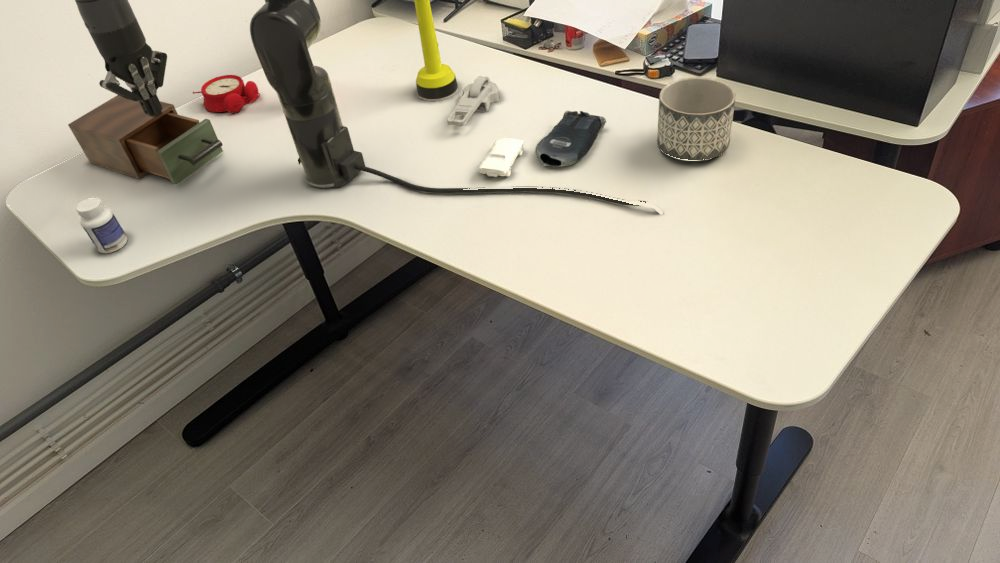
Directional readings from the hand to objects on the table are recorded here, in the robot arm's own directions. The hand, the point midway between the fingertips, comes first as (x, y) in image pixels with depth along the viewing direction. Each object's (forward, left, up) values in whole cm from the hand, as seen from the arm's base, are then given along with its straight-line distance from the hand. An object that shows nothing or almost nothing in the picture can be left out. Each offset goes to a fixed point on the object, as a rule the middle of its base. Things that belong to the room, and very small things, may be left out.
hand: (156, 114), depth 129 cm
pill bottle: (-1, +19, -15) cm, 24 cm away
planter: (-84, -45, -15) cm, 97 cm away
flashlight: (-27, -47, -15) cm, 56 cm away
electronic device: (-63, -37, -15) cm, 75 cm away
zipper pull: (-39, -42, -15) cm, 59 cm away
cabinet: (+19, -4, -15) cm, 25 cm away
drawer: (+5, -4, -14) cm, 16 cm away
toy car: (-54, -28, -15) cm, 63 cm away
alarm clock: (+15, -27, -15) cm, 34 cm away
